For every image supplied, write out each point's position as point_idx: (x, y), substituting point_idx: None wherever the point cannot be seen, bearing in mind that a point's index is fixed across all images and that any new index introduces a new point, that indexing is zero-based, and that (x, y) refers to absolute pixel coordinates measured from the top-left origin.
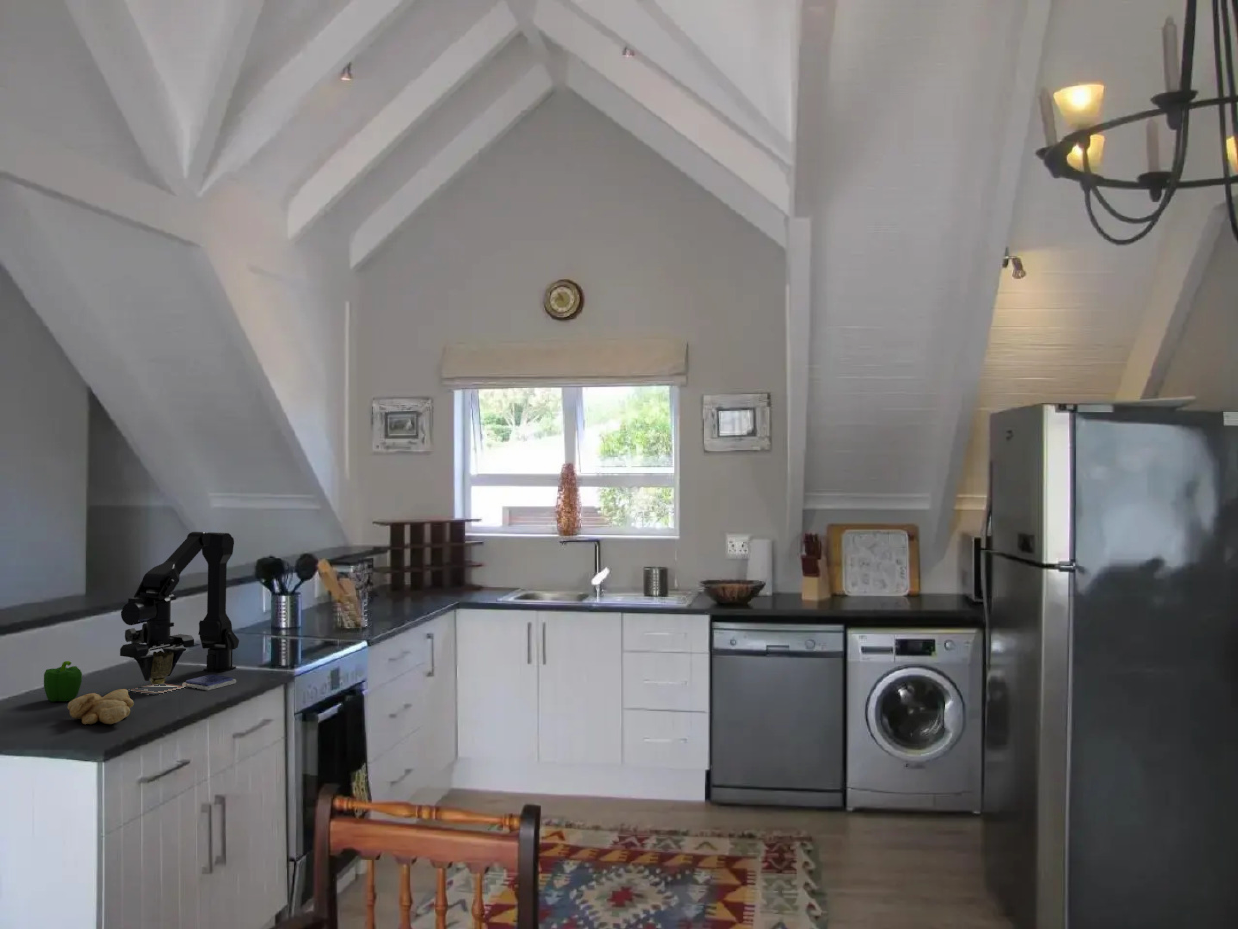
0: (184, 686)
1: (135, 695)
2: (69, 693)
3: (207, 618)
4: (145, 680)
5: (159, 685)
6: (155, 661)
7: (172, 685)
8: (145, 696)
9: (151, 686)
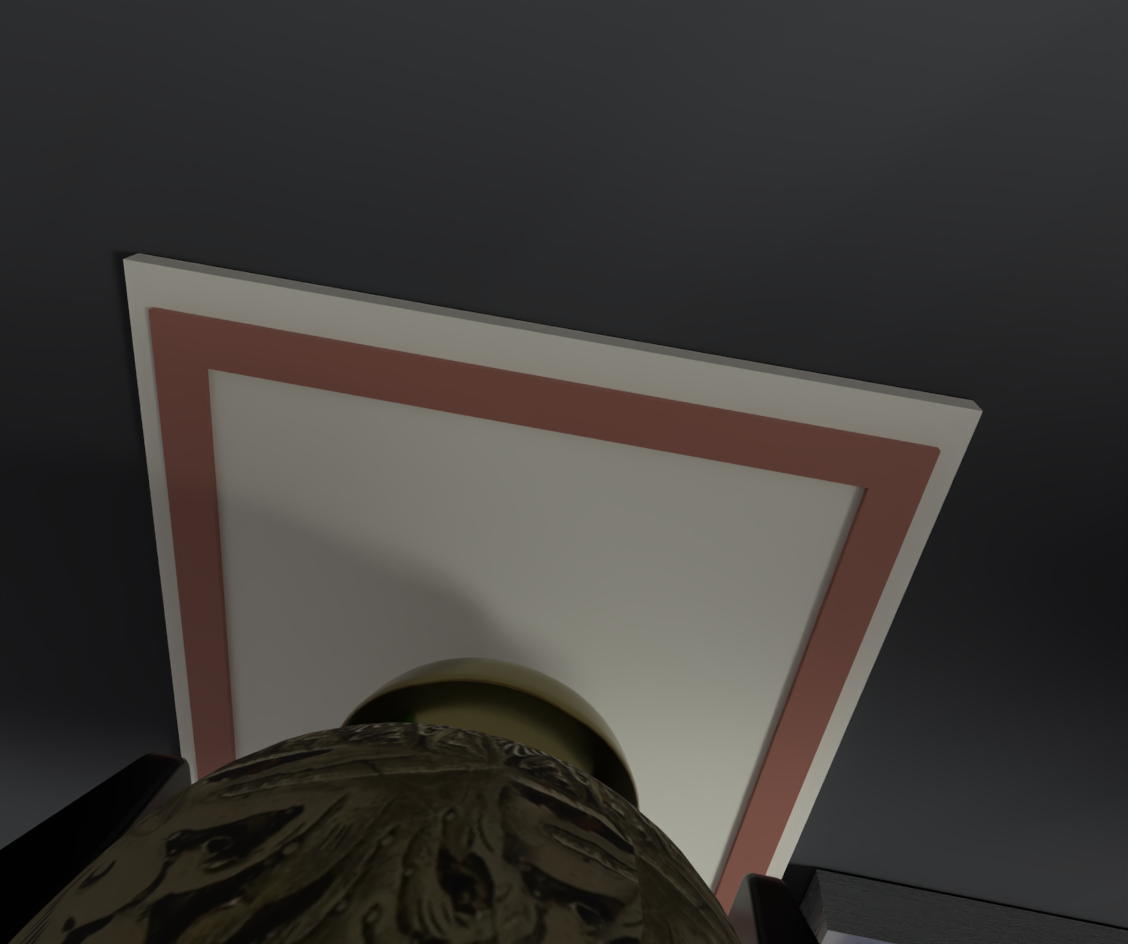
0: (802, 907)
1: (45, 592)
2: None
3: None
4: (147, 768)
5: (707, 587)
6: None
7: (757, 785)
8: (103, 744)
9: (582, 499)
